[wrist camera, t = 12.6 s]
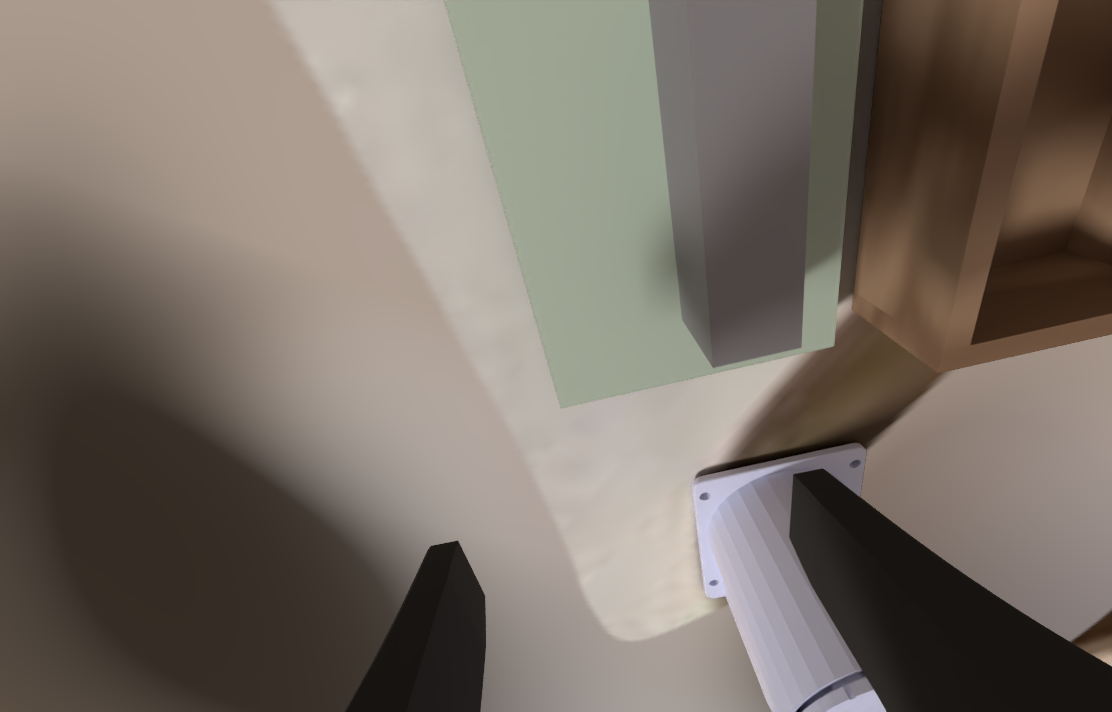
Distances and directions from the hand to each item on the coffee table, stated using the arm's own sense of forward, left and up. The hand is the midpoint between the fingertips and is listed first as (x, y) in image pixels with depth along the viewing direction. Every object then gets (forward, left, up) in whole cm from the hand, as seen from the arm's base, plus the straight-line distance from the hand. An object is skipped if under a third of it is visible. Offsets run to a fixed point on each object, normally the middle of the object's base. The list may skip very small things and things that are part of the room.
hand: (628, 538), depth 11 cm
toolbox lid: (+5, -5, -10) cm, 12 cm away
